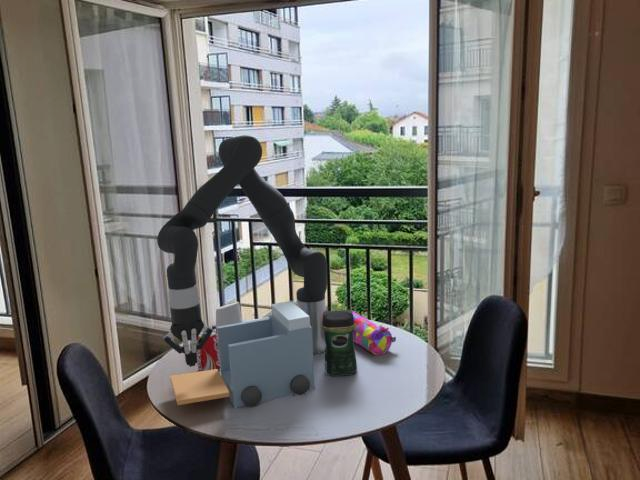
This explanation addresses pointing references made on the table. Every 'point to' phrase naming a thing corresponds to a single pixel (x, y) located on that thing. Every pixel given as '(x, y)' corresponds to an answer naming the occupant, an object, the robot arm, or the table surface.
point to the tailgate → (198, 386)
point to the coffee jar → (339, 342)
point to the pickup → (267, 356)
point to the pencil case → (371, 335)
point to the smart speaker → (228, 315)
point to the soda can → (208, 353)
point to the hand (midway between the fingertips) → (191, 365)
